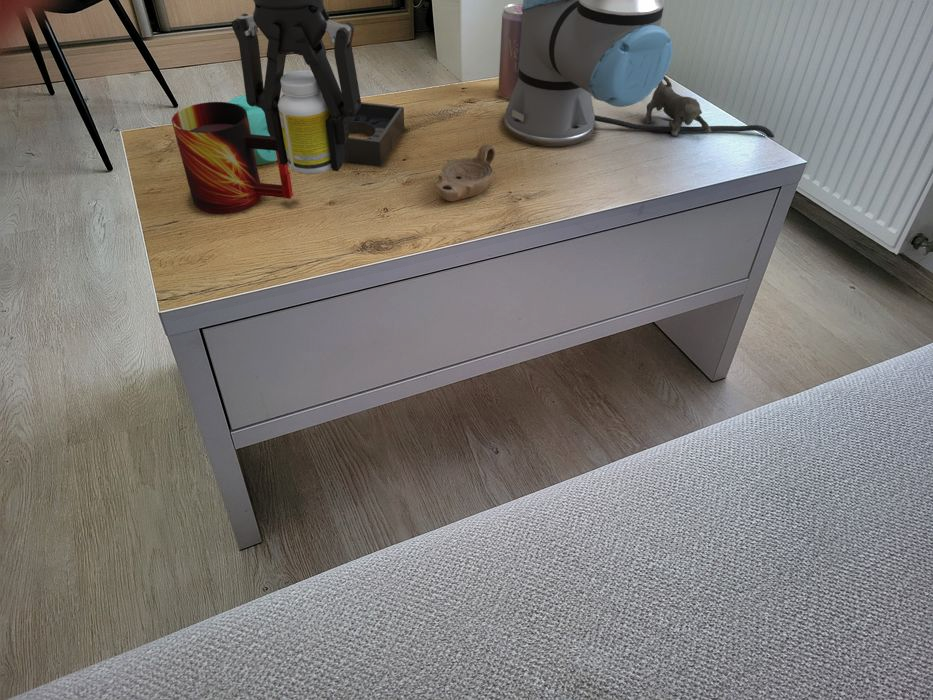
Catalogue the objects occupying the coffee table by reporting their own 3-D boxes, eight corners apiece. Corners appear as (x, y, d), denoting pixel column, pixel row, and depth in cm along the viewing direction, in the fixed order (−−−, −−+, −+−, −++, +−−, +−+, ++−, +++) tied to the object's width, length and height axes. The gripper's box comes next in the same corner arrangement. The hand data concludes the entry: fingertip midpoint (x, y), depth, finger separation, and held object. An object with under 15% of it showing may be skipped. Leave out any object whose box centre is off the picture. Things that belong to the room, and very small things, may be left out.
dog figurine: (638, 118, 126) (646, 76, 121) (663, 112, 128) (672, 70, 123) (685, 146, 118) (696, 102, 113) (711, 139, 120) (722, 95, 115)
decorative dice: (224, 155, 112) (213, 105, 107) (263, 137, 117) (254, 88, 112) (259, 170, 109) (249, 120, 103) (297, 151, 113) (290, 102, 108)
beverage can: (530, 89, 134) (537, 3, 124) (529, 102, 130) (536, 14, 120) (499, 87, 135) (503, 2, 125) (497, 100, 130) (501, 12, 120)
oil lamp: (460, 215, 101) (461, 183, 97) (419, 198, 104) (418, 166, 101) (512, 179, 109) (514, 148, 105) (473, 164, 112) (474, 134, 108)
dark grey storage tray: (404, 129, 120) (403, 106, 118) (381, 166, 111) (379, 142, 108) (330, 121, 122) (327, 98, 120) (300, 156, 113) (297, 132, 110)
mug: (295, 205, 102) (282, 125, 94) (193, 218, 99) (171, 136, 91) (288, 173, 108) (275, 96, 100) (192, 184, 105) (172, 105, 97)
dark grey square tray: (405, 129, 120) (404, 118, 119) (381, 166, 111) (380, 154, 109) (330, 120, 122) (328, 109, 121) (300, 156, 113) (298, 144, 111)
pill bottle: (348, 163, 91) (338, 77, 84) (309, 181, 88) (296, 93, 80) (316, 147, 94) (304, 63, 87) (278, 164, 91) (262, 77, 83)
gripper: (181, -36, 74) (229, 168, 89) (358, -23, 71) (376, 186, 86) (215, -54, 79) (254, 141, 95) (381, -43, 76) (394, 157, 92)
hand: (312, 162), depth 91 cm, fingers closed on pill bottle, 6 cm apart
